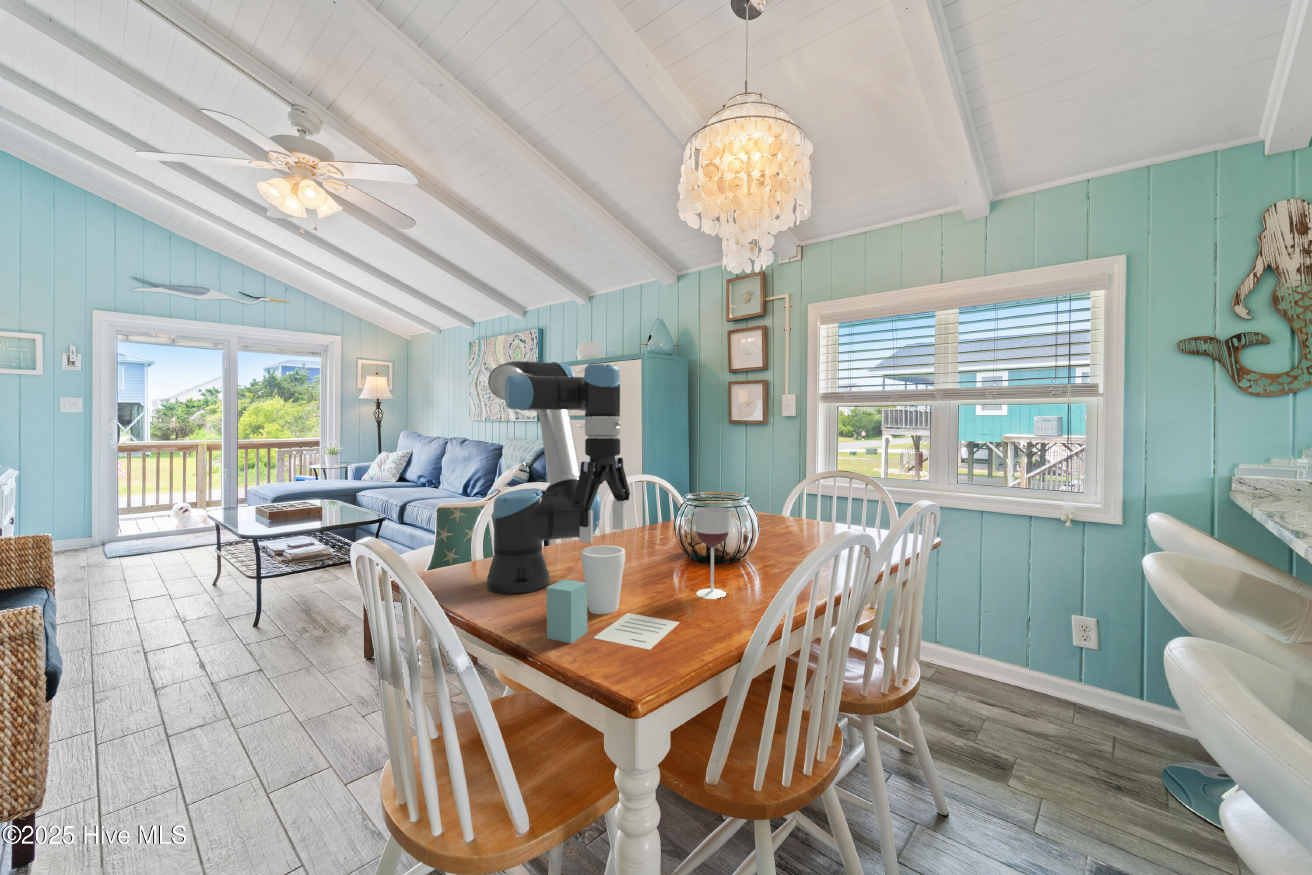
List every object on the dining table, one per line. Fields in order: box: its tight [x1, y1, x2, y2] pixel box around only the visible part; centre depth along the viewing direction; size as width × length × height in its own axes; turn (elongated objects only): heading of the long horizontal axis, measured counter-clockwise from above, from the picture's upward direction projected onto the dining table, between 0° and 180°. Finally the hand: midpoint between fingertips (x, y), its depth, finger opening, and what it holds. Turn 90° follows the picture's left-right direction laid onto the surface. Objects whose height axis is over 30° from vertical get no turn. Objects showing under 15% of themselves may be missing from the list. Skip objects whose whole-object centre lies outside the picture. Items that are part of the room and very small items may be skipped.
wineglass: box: [693, 506, 732, 600], centre depth 128 cm, size 8×9×20 cm
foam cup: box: [580, 545, 626, 615], centre depth 118 cm, size 10×9×13 cm
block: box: [546, 579, 588, 644], centre depth 104 cm, size 6×6×10 cm
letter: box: [592, 612, 680, 651], centre depth 107 cm, size 12×14×1 cm
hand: (603, 535), depth 117 cm, fingers open, 13 cm apart
